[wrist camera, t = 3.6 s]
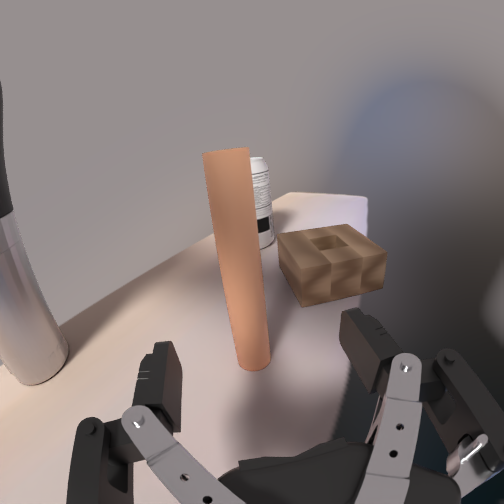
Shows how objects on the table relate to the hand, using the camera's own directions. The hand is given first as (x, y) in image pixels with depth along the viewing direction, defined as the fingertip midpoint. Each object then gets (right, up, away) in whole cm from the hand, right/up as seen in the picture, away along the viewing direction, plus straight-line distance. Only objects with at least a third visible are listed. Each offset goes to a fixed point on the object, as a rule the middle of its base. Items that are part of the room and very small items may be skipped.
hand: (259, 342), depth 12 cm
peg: (0, -6, +12) cm, 13 cm away
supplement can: (0, +6, +38) cm, 38 cm away
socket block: (+10, +1, +24) cm, 26 cm away
